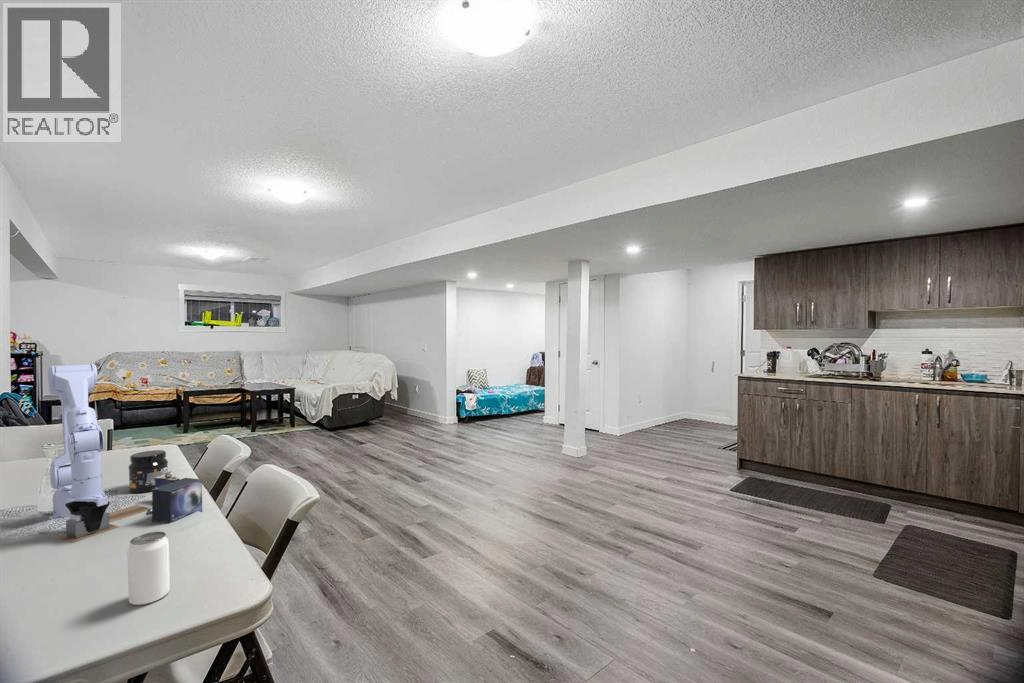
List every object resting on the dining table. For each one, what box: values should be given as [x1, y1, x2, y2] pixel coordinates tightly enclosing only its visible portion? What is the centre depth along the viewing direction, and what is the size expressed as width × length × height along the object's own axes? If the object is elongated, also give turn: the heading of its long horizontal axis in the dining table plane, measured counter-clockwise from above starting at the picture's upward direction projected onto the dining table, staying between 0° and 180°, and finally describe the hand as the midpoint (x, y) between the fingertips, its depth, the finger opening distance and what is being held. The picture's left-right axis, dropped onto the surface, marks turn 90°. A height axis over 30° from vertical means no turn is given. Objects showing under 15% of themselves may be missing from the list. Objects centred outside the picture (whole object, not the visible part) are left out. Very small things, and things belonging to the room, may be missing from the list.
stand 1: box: [54, 523, 120, 544], centre depth 119 cm, size 8×10×2 cm
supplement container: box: [128, 449, 169, 494], centre depth 157 cm, size 10×10×12 cm
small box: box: [151, 477, 203, 524], centre depth 130 cm, size 11×6×10 cm, turn 168°
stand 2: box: [108, 504, 152, 523], centre depth 132 cm, size 8×10×2 cm
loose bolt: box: [145, 508, 152, 516], centre depth 132 cm, size 6×3×3 cm, turn 86°
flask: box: [154, 470, 180, 488], centre depth 141 cm, size 9×3×11 cm, turn 71°
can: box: [127, 531, 171, 606], centre depth 92 cm, size 6×6×12 cm
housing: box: [65, 510, 110, 539], centre depth 119 cm, size 4×7×6 cm, turn 156°
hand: (88, 529), depth 119 cm, fingers closed on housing, 4 cm apart
